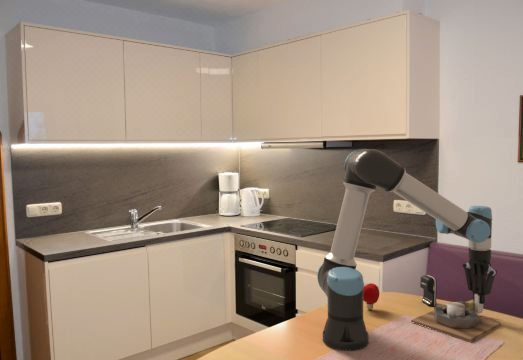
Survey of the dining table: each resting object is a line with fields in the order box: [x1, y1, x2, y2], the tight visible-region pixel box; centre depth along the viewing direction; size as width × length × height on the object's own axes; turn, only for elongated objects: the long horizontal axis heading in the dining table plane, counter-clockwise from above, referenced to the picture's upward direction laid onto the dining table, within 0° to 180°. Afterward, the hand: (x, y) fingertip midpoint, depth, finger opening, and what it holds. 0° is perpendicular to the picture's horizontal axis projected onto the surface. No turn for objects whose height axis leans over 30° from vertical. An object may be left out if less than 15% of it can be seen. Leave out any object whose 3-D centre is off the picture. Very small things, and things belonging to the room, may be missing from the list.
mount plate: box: [410, 300, 502, 343], centre depth 163 cm, size 22×22×7 cm
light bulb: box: [363, 283, 380, 311], centre depth 178 cm, size 9×7×10 cm
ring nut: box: [433, 299, 483, 328], centre depth 165 cm, size 22×14×5 cm, turn 123°
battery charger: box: [419, 274, 438, 307], centre depth 184 cm, size 7×4×11 cm, turn 12°
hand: (478, 311), depth 167 cm, fingers closed
